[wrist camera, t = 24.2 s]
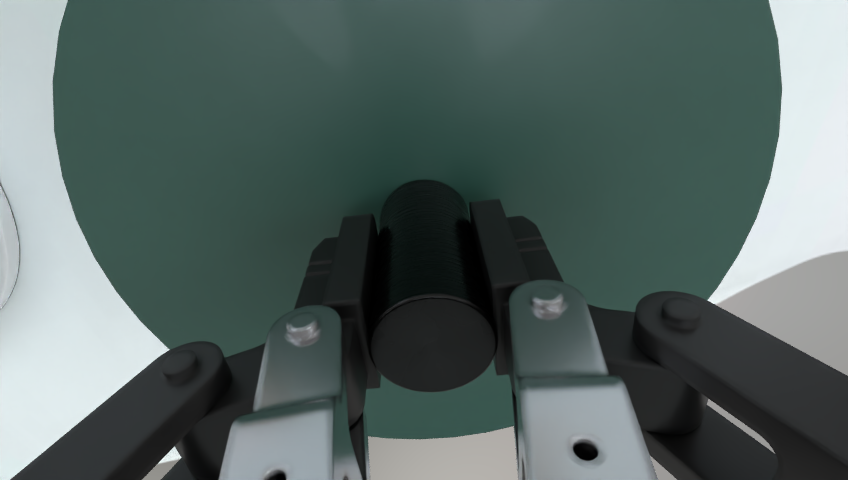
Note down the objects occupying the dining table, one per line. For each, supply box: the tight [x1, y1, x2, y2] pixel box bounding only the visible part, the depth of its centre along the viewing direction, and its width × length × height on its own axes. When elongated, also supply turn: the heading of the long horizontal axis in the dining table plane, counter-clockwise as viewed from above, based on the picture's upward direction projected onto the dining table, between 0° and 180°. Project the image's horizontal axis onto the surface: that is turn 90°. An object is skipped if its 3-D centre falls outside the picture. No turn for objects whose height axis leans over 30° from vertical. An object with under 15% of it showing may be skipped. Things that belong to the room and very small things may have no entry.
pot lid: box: [53, 0, 782, 439], centre depth 11 cm, size 19×19×6 cm
